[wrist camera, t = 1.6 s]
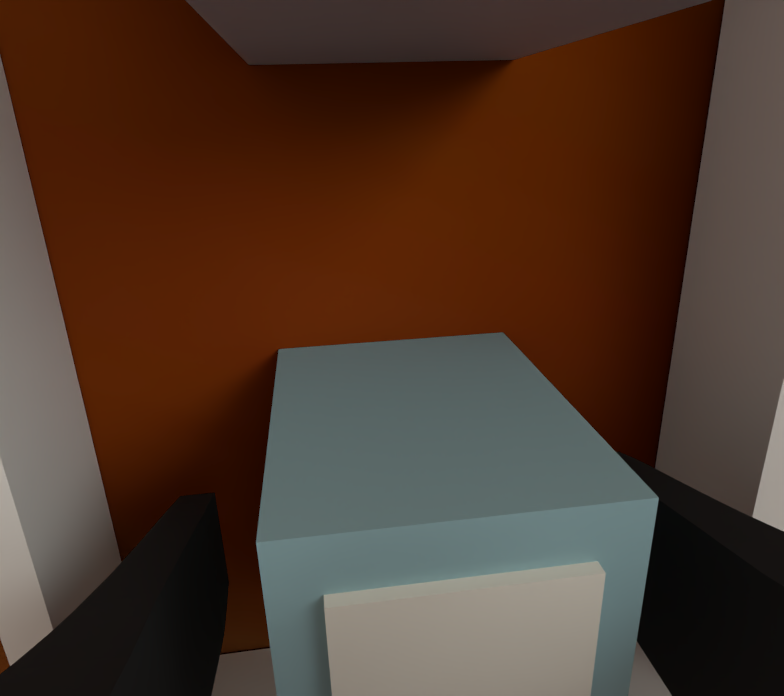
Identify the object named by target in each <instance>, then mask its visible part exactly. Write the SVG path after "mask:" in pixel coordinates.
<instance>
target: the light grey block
mask: <svg viewBox="0 0 784 696" xmlns="http://www.w3.org/2000/svg"><path fill="white" fill-rule="evenodd" d="M186 1H187V2H188V4H189V5H190V6H191V7H192V8H193V9H194V10H195V11H196V12H197V13H198V14H199V15H200V16H201V17H202V18H203V19H204V20H205V21H206V22H207V23H208V24H209V25H210V26H211V27H212V28H213V29H214V30H215V31H216V32H217V33H218V34H219V35H220V36H221V37H222V38H223V39H224V40H225V41H226V42H227V43H228V44H229V45H230V46H231V47H232V48H233V49H234V50H235V51H236V52H237V53H238V54H239V55H240V56H241V57H242V58H243V60H244V61H245V62H246V63H247V64H248V65H275V64H325V63H375V62H426V61H476V60H515V59H518V58H522V57H525V56H528V55H532V54H535V53H538V52H542V51H545V50H548V49H552V48H555V47H558V46H562V45H565V44H568V43H572V42H575V41H578V40H582V39H585V38H588V37H592V36H595V35H598V34H602V33H605V32H608V31H612V30H615V29H618V28H622V27H625V26H628V25H632V24H635V23H638V22H642V21H645V20H648V19H652V18H655V17H658V16H662V15H665V14H668V13H672V12H675V11H678V10H682V9H685V8H688V7H692V6H695V5H698V4H702V3H705V2H708V1H712V0H186Z"/></svg>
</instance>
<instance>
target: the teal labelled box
mask: <svg viewBox="0 0 784 696" xmlns="http://www.w3.org/2000/svg"><path fill="white" fill-rule="evenodd" d="M658 500H659V497H658V496H657V495H656V494H655V493H654V492H653V491H652V490H651V489H650V488H649V487H648V486H647V485H646V484H645V482H644V481H643V480H642V479H641V478H640V477H639V476H638V475H637V474H636V473H635V472H634V471H633V470H632V469H631V468H630V467H629V465H628V464H627V463H626V462H625V461H624V460H623V459H622V458H621V457H620V456H619V455H618V454H617V453H616V452H615V451H614V450H613V448H612V447H611V446H610V445H609V444H608V443H607V442H606V441H605V440H604V439H603V438H602V437H601V436H600V435H599V434H598V433H597V431H596V430H595V429H594V428H593V427H592V426H591V425H590V424H589V423H588V422H587V421H586V420H585V419H584V418H583V417H582V416H581V415H580V413H579V412H578V411H577V410H576V409H575V408H574V407H573V406H572V405H571V404H570V403H569V402H568V401H567V400H566V399H565V398H564V396H563V395H562V394H561V393H560V392H559V391H558V390H557V389H556V388H555V387H554V386H553V385H552V384H551V383H550V382H549V381H548V379H547V378H546V377H545V376H544V375H543V374H542V373H541V372H540V371H539V370H538V369H537V368H536V367H535V366H534V365H533V364H532V363H531V361H530V360H529V359H528V358H527V357H526V356H525V355H524V354H523V353H522V352H521V351H520V350H519V349H518V348H517V347H516V346H515V344H514V343H513V342H512V341H511V340H510V339H509V338H508V337H507V336H506V335H505V334H504V333H503V332H501V333H488V334H475V335H461V336H448V337H435V338H421V339H408V340H395V341H381V342H368V343H355V344H341V345H328V346H315V347H301V348H288V349H279V350H278V359H277V367H276V376H275V384H274V393H273V401H272V410H271V418H270V427H269V436H268V444H267V453H266V461H265V470H264V478H263V487H262V495H261V504H260V512H259V521H258V529H257V538H256V547H257V554H258V561H259V569H260V576H261V583H262V591H263V598H264V605H265V613H266V620H267V627H268V635H269V642H270V649H271V657H272V664H273V671H274V679H275V686H276V694H277V696H628V693H629V686H630V680H631V673H632V667H633V661H634V654H635V648H636V641H637V635H638V629H639V622H640V616H641V609H642V603H643V596H644V590H645V584H646V577H647V571H648V564H649V558H650V552H651V545H652V539H653V532H654V526H655V519H656V513H657V507H658Z"/></svg>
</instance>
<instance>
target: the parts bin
mask: <svg viewBox="0 0 784 696" xmlns="http://www.w3.org/2000/svg"><path fill="white" fill-rule="evenodd" d="M655 469H657V470H659V471H661V472H663V473H665V474H667V475H669V476H671V477H673V478H674V479H676V480H678V481H680V482H682V483H684V484H686V485H688V486H690V487H692V488H694V489H696V490H698V491H700V492H702V493H704V494H706V495H708V496H710V497H712V498H713V499H716V500H718V501H720V502H722V503H724V504H726V505H728V506H730V507H732V508H734V509H736V510H738V511H740V512H742V513H744V514H746V515H748V516H751V517H753V518H755V519H757V520H759V521H762V522H764V523H766V524H768V525H770V526H773V527H775V528H777V529H779V530H781V531H784V0H725V5H724V12H723V19H722V25H721V32H720V39H719V45H718V52H717V59H716V65H715V72H714V79H713V85H712V92H711V99H710V105H709V112H708V119H707V125H706V132H705V139H704V145H703V152H702V159H701V165H700V172H699V178H698V185H697V192H696V198H695V205H694V212H693V218H692V225H691V232H690V238H689V245H688V252H687V258H686V265H685V272H684V278H683V285H682V292H681V298H680V305H679V312H678V318H677V325H676V332H675V338H674V345H673V351H672V358H671V365H670V371H669V378H668V385H667V391H666V398H665V405H664V411H663V418H662V425H661V431H660V438H659V445H658V451H657V458H656V465H655ZM120 563H121V558H120V554H119V550H118V545H117V541H116V537H115V533H114V529H113V524H112V520H111V516H110V512H109V508H108V504H107V499H106V495H105V491H104V487H103V483H102V478H101V474H100V470H99V466H98V462H97V457H96V453H95V449H94V445H93V441H92V437H91V432H90V428H89V424H88V420H87V416H86V411H85V407H84V403H83V399H82V395H81V391H80V386H79V382H78V378H77V374H76V370H75V365H74V361H73V357H72V353H71V349H70V345H69V340H68V336H67V332H66V328H65V324H64V319H63V315H62V311H61V307H60V303H59V299H58V294H57V290H56V286H55V282H54V278H53V273H52V269H51V265H50V261H49V257H48V252H47V248H46V244H45V240H44V236H43V232H42V227H41V223H40V219H39V215H38V211H37V206H36V202H35V198H34V194H33V190H32V186H31V181H30V177H29V173H28V169H27V165H26V160H25V156H24V152H23V148H22V144H21V140H20V135H19V131H18V127H17V123H16V119H15V114H14V110H13V106H12V102H11V98H10V94H9V89H8V85H7V81H6V77H5V73H4V68H3V64H2V60H1V56H0V639H1V642H2V645H3V647H4V650H5V653H6V656H7V659H8V662H9V665H10V666H11V665H12V664H14V663H15V662H16V661H17V660H18V659H20V658H21V657H22V656H23V655H24V654H26V653H27V652H28V651H29V650H30V649H31V648H33V647H34V646H35V645H36V644H37V643H39V642H40V641H41V640H42V639H43V638H44V637H46V636H47V635H48V634H49V633H50V632H51V631H52V630H54V629H55V628H56V627H57V626H58V625H59V624H60V623H61V622H62V621H64V620H65V619H66V618H67V617H68V616H69V615H70V614H71V613H72V612H73V611H74V610H75V609H76V608H77V607H78V606H79V605H80V604H81V603H82V602H83V601H84V600H85V599H86V598H87V597H88V596H89V595H90V594H91V593H92V592H93V591H94V590H95V589H96V588H97V587H98V586H99V585H100V584H101V583H102V582H103V581H104V580H105V579H106V578H107V577H108V576H109V575H110V574H111V573H112V572H113V571H114V570H115V569H116V568H117V567H118V565H119V564H120ZM211 696H277V694H276V686H275V679H274V671H273V664H272V657H271V649H270V648H267V649H260V650H252V651H245V652H237V653H230V654H222V655H220V657H219V662H218V667H217V672H216V676H215V681H214V686H213V690H212V695H211ZM628 696H672V695H671V694H670V692H669V690H668V689H667V687H666V686H665V684H664V683H663V681H662V679H661V678H660V676H659V675H658V673H657V672H656V670H655V669H654V667H653V666H652V664H651V662H650V661H649V659H648V658H647V656H646V655H645V653H644V652H643V650H642V648H641V647H640V645H639V644H638V642H637V641H636V648H635V654H634V661H633V667H632V673H631V680H630V686H629V693H628Z"/></svg>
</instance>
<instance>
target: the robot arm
mask: <svg viewBox="0 0 784 696" xmlns="http://www.w3.org/2000/svg"><path fill="white" fill-rule="evenodd" d="M616 453H617V454H618V455H619V456H620V457H621V458H622V459H623V460H624V461H625V462H626V463H627V464H628V465H629V467H630V468H631V469H632V470H633V471H634V472H635V473H636V474H637V475H638V476H639V477H640V478H641V479H642V480H643V481H644V482H645V484H646V485H647V486H648V487H649V488H650V489H651V490H652V491H653V492H654V493H655V494H656V495H657V496H658V497H659V500H658V507H657V513H656V519H655V526H654V532H653V539H652V545H651V552H650V558H649V564H648V571H647V577H646V584H645V590H644V596H643V603H642V609H641V616H640V622H639V629H638V635H637V642H638V644H639V645H640V647H641V648H642V650H643V652H644V653H645V655H646V656H647V658H648V659H649V661H650V662H651V664H652V666H653V667H654V669H655V670H656V672H657V673H658V675H659V676H660V678H661V679H662V681H663V683H664V684H665V686H666V687H667V689H668V690H669V692H670V694H671V695H672V696H784V531H781V530H779V529H777V528H775V527H773V526H770V525H768V524H766V523H764V522H762V521H759V520H757V519H755V518H753V517H751V516H748V515H746V514H744V513H742V512H740V511H738V510H736V509H734V508H732V507H730V506H728V505H726V504H724V503H722V502H720V501H718V500H716V499H713V498H712V497H710V496H708V495H706V494H704V493H702V492H700V491H698V490H696V489H694V488H692V487H690V486H688V485H686V484H684V483H682V482H680V481H678V480H676V479H674V478H673V477H671V476H669V475H667V474H665V473H663V472H661V471H659V470H657V469H655V468H653V467H651V466H649V465H647V464H645V463H643V462H641V461H639V460H637V459H635V458H632V457H630V456H628V455H626V454H623V453H621V452H616ZM228 586H229V579H228V573H227V567H226V561H225V554H224V548H223V542H222V536H221V530H220V523H219V517H218V511H217V505H216V499H215V493H206V494H196V495H186V496H180V497H179V498H178V499H177V500H176V501H175V503H174V504H173V505H172V506H171V507H170V508H169V509H168V510H167V511H166V513H165V514H164V515H163V516H162V517H161V518H160V519H159V521H158V522H157V523H156V524H155V525H154V526H153V528H152V529H151V530H150V531H149V532H148V533H147V534H146V536H145V537H144V538H143V539H142V540H141V541H140V542H139V544H138V545H137V546H136V547H135V548H134V549H133V550H132V551H131V552H130V553H129V555H128V556H127V557H126V558H125V559H124V560H123V561H122V562H121V563H120V564H119V565H118V567H117V568H116V569H115V570H114V571H113V572H112V573H111V574H110V575H109V576H108V577H107V578H106V579H105V580H104V581H103V582H102V583H101V584H100V585H99V586H98V587H97V588H96V589H95V590H94V591H93V592H92V593H91V594H90V595H89V596H88V597H87V598H86V599H85V600H84V601H83V602H82V603H81V604H80V605H79V606H78V607H77V608H76V609H75V610H74V611H73V612H72V613H71V614H70V615H69V616H68V617H67V618H66V619H65V620H64V621H62V622H61V623H60V624H59V625H58V626H57V627H56V628H55V629H54V630H52V631H51V632H50V633H49V634H48V635H47V636H46V637H44V638H43V639H42V640H41V641H40V642H39V643H37V644H36V645H35V646H34V647H33V648H31V649H30V650H29V651H28V652H27V653H26V654H24V655H23V656H22V657H21V658H20V659H18V660H17V661H16V662H15V663H14V664H12V665H11V666H10V667H9V668H7V669H6V670H5V671H4V672H2V673H1V674H0V696H211V695H212V690H213V686H214V681H215V676H216V672H217V667H218V662H219V657H220V653H221V648H222V643H223V638H224V631H225V621H226V611H227V599H228Z"/></svg>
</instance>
